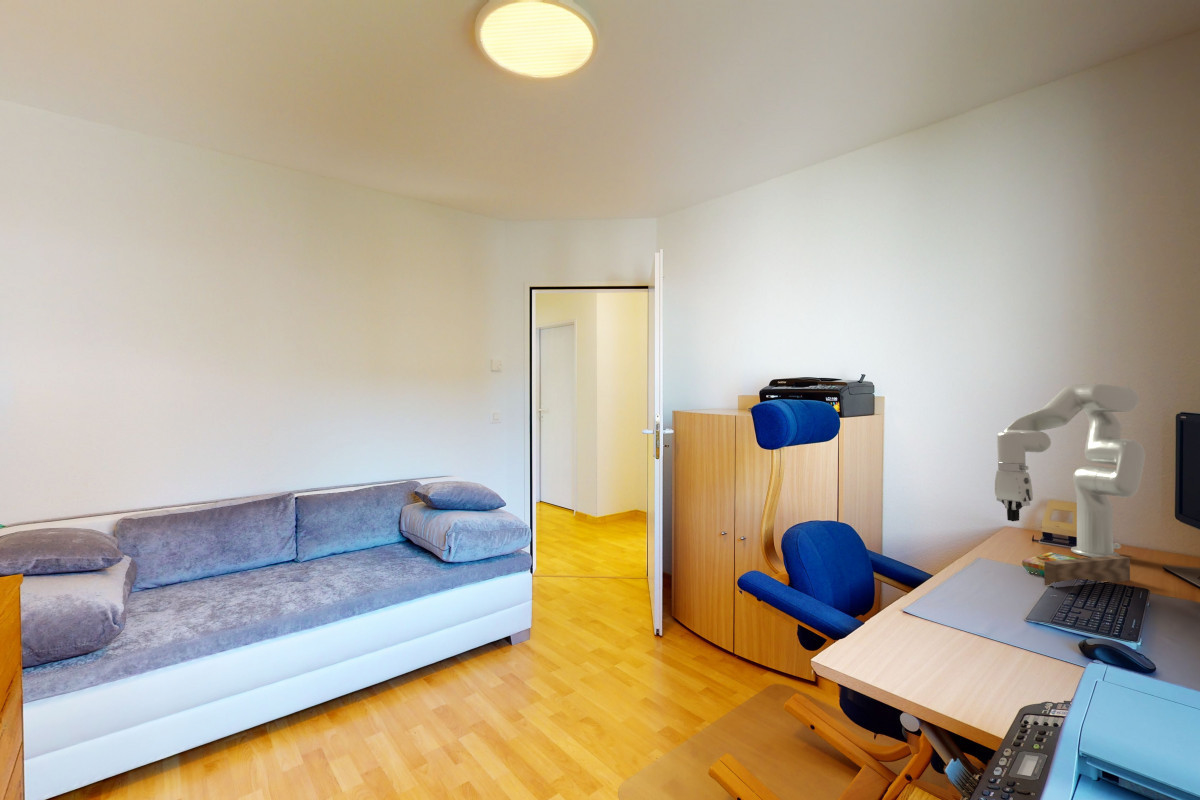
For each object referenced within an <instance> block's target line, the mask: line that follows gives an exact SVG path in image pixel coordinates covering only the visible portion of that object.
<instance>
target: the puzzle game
mask: <svg viewBox="0 0 1200 800" xmlns="http://www.w3.org/2000/svg"><path fill="white" fill-rule="evenodd" d="M1068 559H1080V557H1075V556H1070V555H1066V554H1061V553H1056V552H1047V553H1044V554H1040V555H1036V556H1032V557H1029V558H1025V559H1023V560H1022V562H1021V565H1022V566H1023V568H1024V569H1025V570H1026V571H1027V572H1028V571H1029V572H1033V573H1037V574H1036V575H1038V574H1040V575H1039V576H1042V575H1044V562H1046V561H1057V560H1068ZM1029 572H1028V573H1029ZM1033 573H1032V574H1033Z"/></svg>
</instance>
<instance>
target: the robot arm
mask: <svg viewBox="0 0 1200 800" xmlns="http://www.w3.org/2000/svg"><path fill="white" fill-rule="evenodd" d="M1140 401H1141V400H1140V396H1139V393H1138V392H1137V391H1136V390H1135V389H1133V388H1131V387H1126V386H1118V385H1111V384H1110V385H1108V384H1104V383H1103V384H1102V383H1085V384H1071V385H1070V384H1069V385H1068V386H1065V387H1064V388H1063V389H1061V390H1060V391H1059V392H1058V393H1057V394H1056V395H1055V396H1054V397H1053V398H1052V399H1051V400H1050V401H1049V402H1047V404H1046V405H1044V406H1043V407H1042V408H1039V409H1038V410H1034V411H1033V412H1030V413H1028V414H1026V415H1023V416H1021V417H1019V418H1017V419H1016V420H1014V421H1012V423H1010V424H1009V425H1008V426H1007V428H1005V429H1004V431H1000V432H998V433H997V435H996V438H997V439H996V440H997V443H996V444H997V469H998V470H996V473H995V479H994V495H995V497H996V501H998V502H999V503H1001V504H1002V505H1004V508H1005V509H1006V516H1007V517H1006V518H1007V521H1009V522H1019V521H1020V510H1022V508H1023V507H1029V506H1030V505H1031V503H1030V502H1032V501H1033V499H1034V497H1033V496H1034V494H1033V493H1034V492H1033V486H1032V480H1031V477H1030V474H1029V472H1027V471H1028V470H1029V466H1028V465H1026V453H1043V452H1046V451H1047V450H1048V449H1049V448H1050V447H1051V445H1052V440H1051V436H1049V435H1048V434H1047V433H1045V432H1044V431H1047V430H1052V429H1056V428H1061V427H1064V426H1066V425H1068V423H1070V421H1072V420H1073V419H1074V418H1075V417H1076V415H1078V414H1079V413H1080V412H1081V411H1083V413H1084V414H1085V416H1086V418H1087V420H1088V423H1089V424H1088V431H1087V436H1086V440H1085V446H1084V452H1083V453H1084V457H1085V459H1086V460H1087V461H1089V462H1091V463H1094V464H1095V463H1096V464H1101V465H1110V466H1116V468H1113V467H1112V468H1110V467H1104V466H1103V467H1102V466H1094V465H1093V466H1092V465H1089V466H1087V465H1086V466H1081V467H1078V468H1077V469H1076V470H1075V471H1074V472H1073V474H1072V481H1073V486H1074V490H1075V494H1076V546H1072V547H1071V548H1070V550H1071V552H1072V553H1074V554H1076V555H1080V556H1084V557H1088V558H1091V557H1102V556H1113V555H1120V554H1119V553H1118V552H1115V550H1117V549H1121V547H1122V545H1121V544H1120V543H1118V542H1115V543H1114V508H1113V507H1114V506H1113V504H1112V502H1111V500H1110V498H1109V497H1108V496H1112V497H1118V498H1131V497H1133V496H1135V495H1136V494H1137V493H1138V490H1139V489H1140V484H1141V481H1142V476H1143V471H1144V467H1145V460H1146V451H1145V449H1144V446H1143V444H1142V443H1140V442H1139V441H1137V440H1135V439H1131V438H1130V439H1129V438H1121V434H1122V433H1121V432H1122V428H1123V427H1122V423H1121V421H1120V419H1119V418H1118V417H1117V416H1116V415H1115V413H1128V412H1132V411H1134V410H1135V409H1136V408H1137V407H1138V406H1139V405H1140Z"/></svg>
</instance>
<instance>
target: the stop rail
mask: <svg viewBox="0 0 1200 800" xmlns="http://www.w3.org/2000/svg"><path fill="white" fill-rule="evenodd" d="M1079 558H1080V557H1079ZM1043 578H1044V586H1046V585H1050V584H1051V583H1053V582H1055V583H1056V582H1060V581H1066V580H1074V579H1088V580H1096V581H1107V582H1112V583H1121V582H1130V581H1131V558H1130V557H1128V556H1123V555H1120V554H1119V555H1113V556H1102V557H1081V558H1080V559H1068V560H1057V561H1046V562H1044V576H1043Z"/></svg>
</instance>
